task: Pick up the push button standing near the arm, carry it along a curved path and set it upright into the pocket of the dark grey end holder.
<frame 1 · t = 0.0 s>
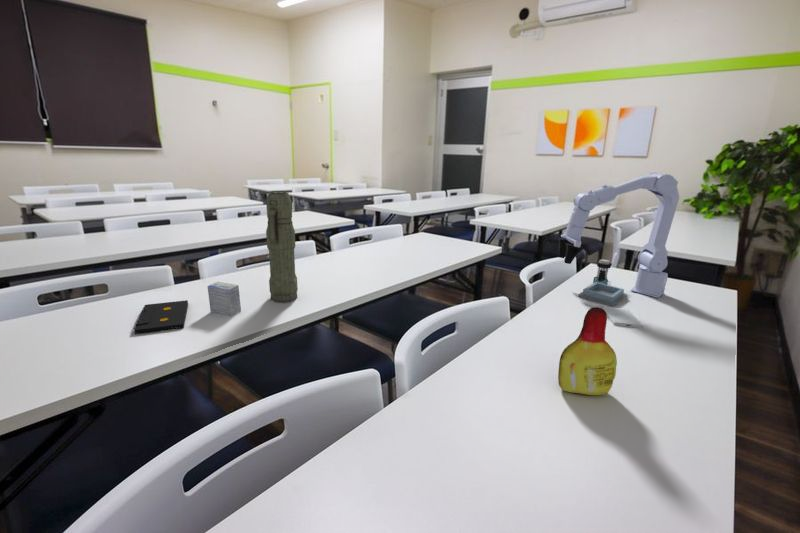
hand: (564, 260, 151), 11 cm above the table, tool pointing down, fingers open, 7 cm apart
grey layered block: (226, 312, 121), on the table
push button: (601, 285, 158), on the table
end holder: (602, 296, 145), on the table
hard drive: (620, 320, 128), on the table
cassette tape: (164, 320, 116), on the table
bottle: (581, 391, 89), on the table
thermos: (284, 298, 134), on the table
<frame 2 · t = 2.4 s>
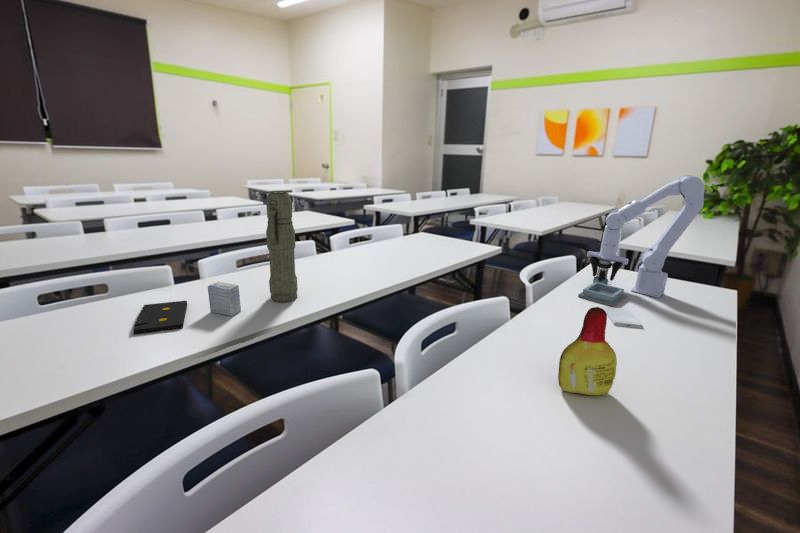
hand: (603, 277, 157), 3 cm above the table, tool pointing down, fingers open, 6 cm apart
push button: (601, 285, 158), on the table, touching gripper
everything else where it was.
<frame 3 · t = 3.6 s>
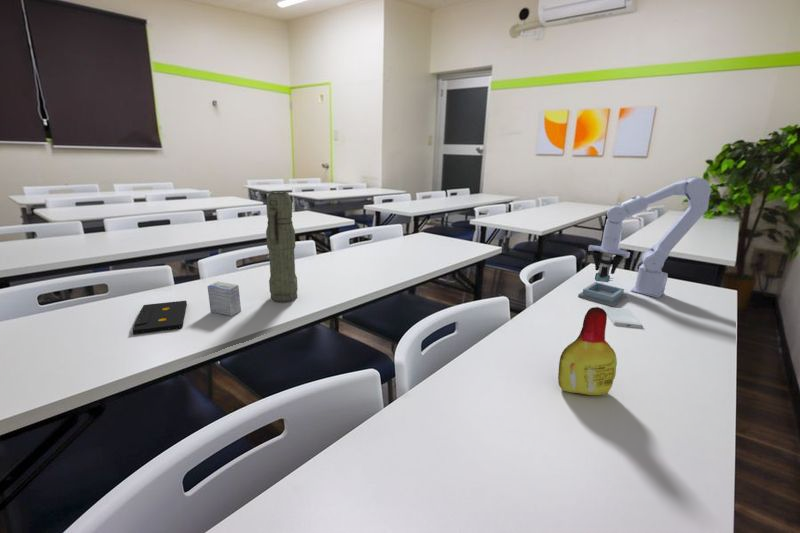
hand: (604, 271, 156), 6 cm above the table, tool pointing down, fingers closed on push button, 5 cm apart
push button: (603, 281, 157), point 1 cm above the table, touching gripper
everything else where it was.
when the fingers open (6 cm above the table, at t = 7.0 s): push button stays where it is, resting on end holder.
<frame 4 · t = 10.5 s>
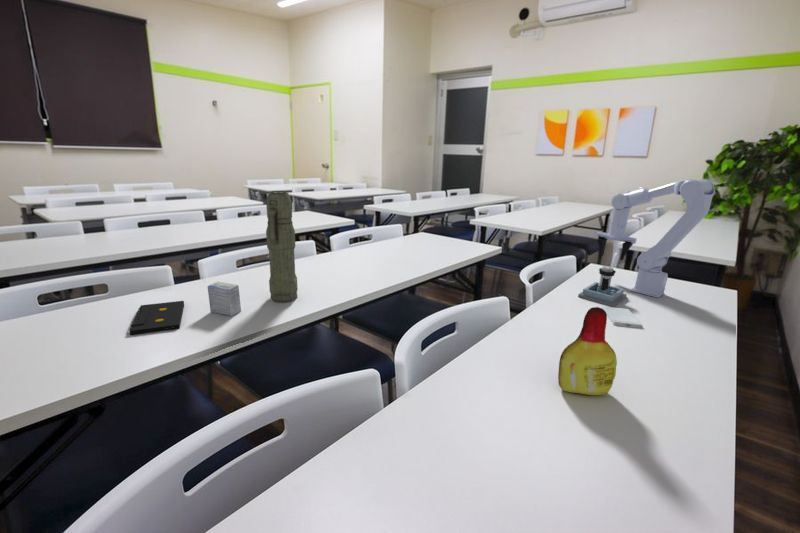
hand: (611, 257, 162), 9 cm above the table, tool pointing down, fingers open, 7 cm apart
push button: (604, 294, 145), point 1 cm above the table, touching end holder
at the end: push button 1.0 cm off-centre on the end holder, point 0.8 cm above the end holder's base; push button tilted 0°; the gripper is holding nothing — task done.
